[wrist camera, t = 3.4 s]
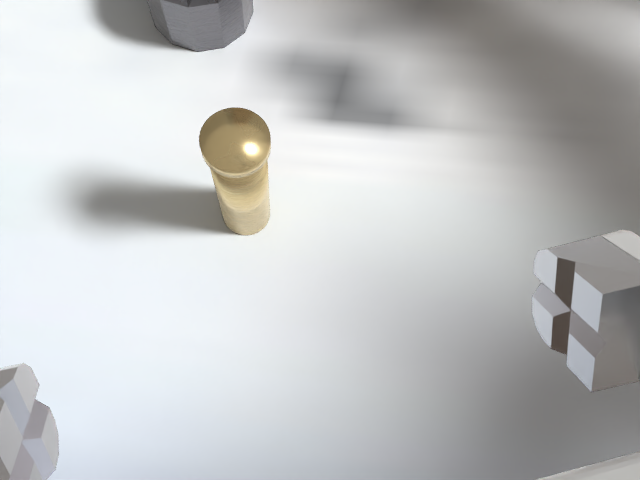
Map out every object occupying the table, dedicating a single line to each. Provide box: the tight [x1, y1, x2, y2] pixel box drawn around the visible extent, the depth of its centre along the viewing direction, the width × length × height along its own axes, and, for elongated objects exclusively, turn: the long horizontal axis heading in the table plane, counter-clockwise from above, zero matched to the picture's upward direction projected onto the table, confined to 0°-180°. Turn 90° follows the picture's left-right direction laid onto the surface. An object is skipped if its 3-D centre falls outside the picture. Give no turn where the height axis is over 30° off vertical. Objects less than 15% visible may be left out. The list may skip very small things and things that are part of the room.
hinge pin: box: [199, 108, 271, 235], centre depth 33 cm, size 3×3×10 cm
